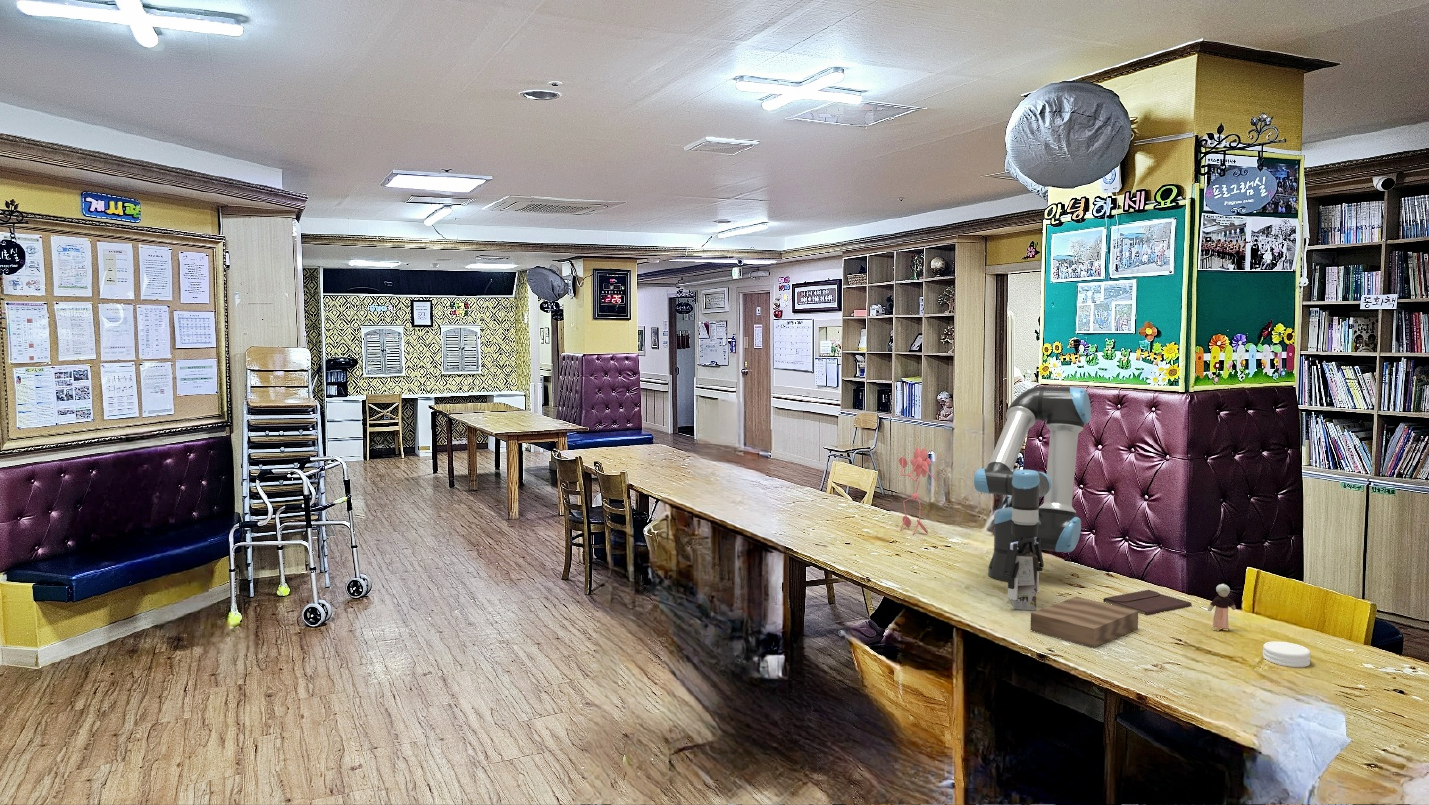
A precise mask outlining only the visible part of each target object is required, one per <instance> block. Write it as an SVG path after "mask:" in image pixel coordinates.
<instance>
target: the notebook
mask: <svg viewBox="0 0 1429 805" xmlns="http://www.w3.org/2000/svg"><path fill="white" fill-rule="evenodd" d="M1105 602H1106V604H1108V603H1109V604H1112V605H1115V606H1119V607H1124V608H1128V609H1132V610H1137V611H1138V614H1140V615H1141V614H1142V615H1143V614H1144V616H1151V615H1157V614H1161V613H1160V612H1162V613H1165V612H1164V611H1167V612H1171V611H1176V610H1180V609H1185V607H1186V608H1189V607H1190V606H1191V607H1192V606H1193V605H1192V601H1190V602H1189V601H1186V600H1184V599H1180V598H1177V597H1173V596H1169V595H1166V594H1162V593H1160V592H1158V591H1155V590H1151V589H1144V590H1140V591H1135V592H1129V593H1125V594H1124V593H1122V594H1119V595H1112V596H1108V597H1104V598H1103V602H1102V603H1105ZM1156 613H1157V614H1156Z"/></svg>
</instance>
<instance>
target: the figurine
mask: <svg viewBox="0 0 1429 805" xmlns="http://www.w3.org/2000/svg"><path fill="white" fill-rule="evenodd" d="M928 456H929V451H926V448H925V447H923V448H921V449H920V447H918V446H917V447H915V450H914V451H913V458H912V459H910V460H909V461H910V465H911V466H912V470H911V472H910V473H909V474H906V473H903V472H904V471H903V469H905V468H906V467H907V466H908V464H909V463H908V460H907V458H905V456H900V457H899V459H898V462H899V465H900V466H901V473H900V475H901V476H904V477H905V476H908V477H910V478H911V479H913V480H914V481H915V482H917V485H916V486H917V487H916V490H915V493H912V494H911V497H909V498H908V499H905V500H903V502H902V504H903V509H904V516H903V517H902V519H901V520H902V524H901V526H900V529H899V531H902V530H903V527H904V526H905V527H906V528H907V529H909V528H911V526H912V521H911V519H910V517H909V516H907V512H906V506H905V502H906V501H909V500H911V499H912V500H914V501H915V500H917V502H918V504H919V512H918V513H919V515H918V519H916V522H917V523H916V525H915V528H914V531H913V533H912V535H913V536H914V535H915V534H916V531H917V528H921V529H922V531H923V532H925V533H926V534H927V535H928V534H929V532H928V530H927V527H926V526H925V525H924V524H923V523H922V522H921V506H922V505H921V501H920V499H919V494H918V489H919V485H920V481H919V480H918V479H919V478H920V476H922V477H923V478H926V476H927V473H928V474H929V476H931V477H932V478H933V480H935V482H936V481H938V480H937V479H936V478H935V477H934V475H933V474H931V472H930V468H929V466H930V465H931V464H932V461H931V459H930V458H929V457H928ZM913 472H915V476H916V477H914V476H912V475H913ZM925 527H926V528H925Z"/></svg>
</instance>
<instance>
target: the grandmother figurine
mask: <svg viewBox="0 0 1429 805" xmlns="http://www.w3.org/2000/svg"><path fill="white" fill-rule="evenodd" d="M1215 589H1216V592H1217V595H1218V596H1217V595H1216V596H1215V598H1213V599H1212V600H1211V602H1210V604H1209V606H1208V608H1207V611H1208V612H1211V611H1212V610H1213V609H1214V607H1215V611H1214V613H1213V614H1214V615H1213V620H1212V621H1213V622H1212V627H1211V629H1212V628H1213V629H1214V630H1221V629H1220V628H1222V629H1229V630H1230V628H1229V626H1230V625H1229V624H1230V623H1229V606H1230V608H1231V610H1232V611H1235V610H1236V609H1237V607H1236V605H1235V602H1234V601H1233V599H1231V598H1230V597H1228V596H1229V594H1230V591H1231V589H1230V587H1229V586H1228V585H1227V584H1225V583H1221V584H1218V585H1217V586H1216V588H1215ZM1214 630H1213V631H1214ZM1221 631H1222V630H1221Z"/></svg>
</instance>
